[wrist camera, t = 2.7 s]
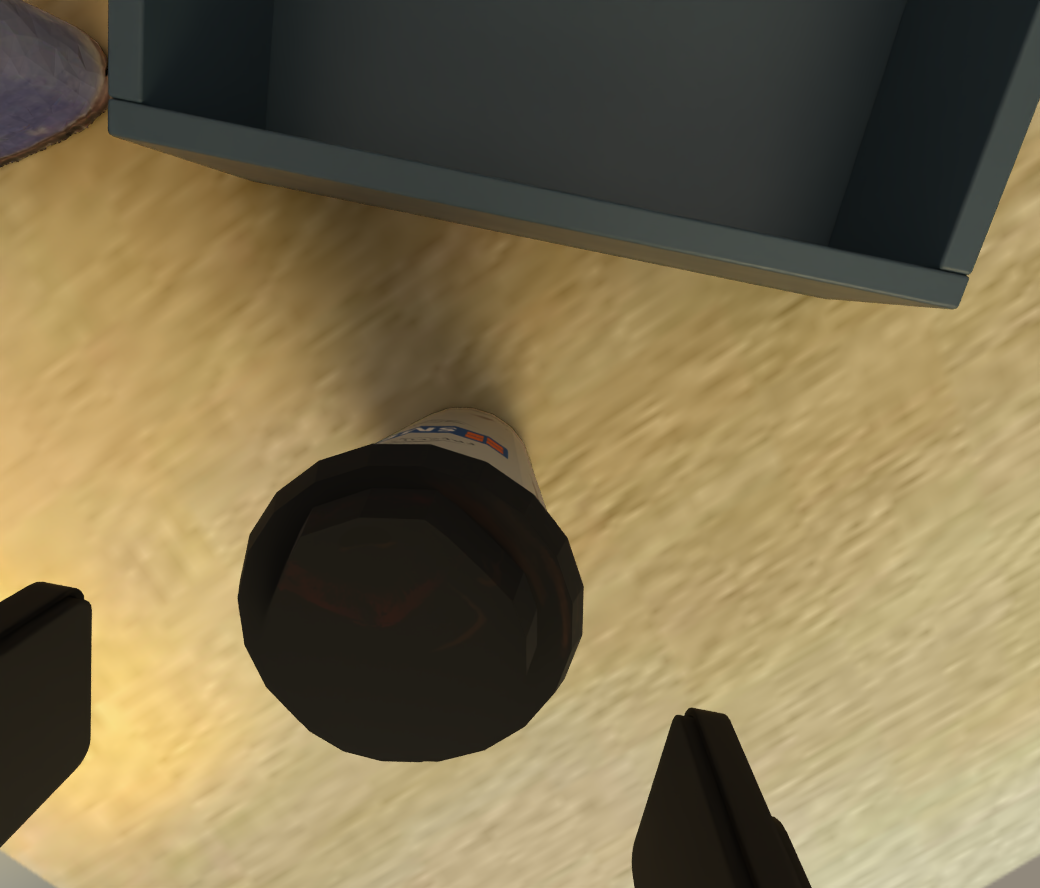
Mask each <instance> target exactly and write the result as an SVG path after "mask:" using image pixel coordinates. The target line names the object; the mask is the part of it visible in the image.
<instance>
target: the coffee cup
mask: <svg viewBox="0 0 1040 888" xmlns="http://www.w3.org/2000/svg"><path fill="white" fill-rule="evenodd" d="M583 591H584V586H583V583H582V580H581V577H580V574H579V571H578V568H577V565H576V562H575V559H574V556H573V553H572V550H571V547H570V544H569V541H568V538H567V537H566V535H565V534H564V533H563V531H562V530H561V529H560V527H559V526H558V525H557V524H556V522H555V521H554V520H553V518H552V517H551V516H550V514H549V513H548V512H547V509H546V506H545V504H544V501H543V498H542V495H541V492H540V489H539V486H538V483H537V480H536V477H535V474H534V471H533V468H532V465H531V463H530V460H529V457H528V454H527V451H526V448H525V445H524V443H523V442H522V441H521V439H520V438H519V437H518V435H517V434H516V433H515V431H514V430H513V429H512V427H511V426H509V425H508V424H506V423H505V422H503V421H502V420H501V419H499V418H498V417H496V416H495V415H493V414H490V413H487V412H484V411H481V410H478V409H475V408H449V409H446V410H443V411H439V412H436V413H433V414H430V415H428V416H426V417H425V418H423V419H421V420H419V421H417V422H415V423H413V424H411V425H409V426H408V427H406V428H404V429H402V430H400V431H398V432H396V433H394V434H392V435H391V436H389V437H387V438H385V439H383V440H381V441H379V442H377V443H375V444H370V445H367V446H364V447H361V448H357V449H354V450H351V451H348V452H345V453H342V454H339V455H335V456H332V457H329V458H326V459H323V460H320V461H318V462H317V463H315V464H314V465H313V466H311V467H310V468H309V469H307V470H306V471H305V472H303V473H302V474H301V475H299V476H298V477H297V478H295V479H294V480H293V481H291V482H290V483H289V484H287V485H286V486H285V487H283V488H282V489H281V490H279V491H278V492H277V493H276V494H275V496H274V497H273V499H272V501H271V502H270V504H269V505H268V507H267V508H266V510H265V511H264V513H263V515H262V516H261V518H260V519H259V521H258V522H257V524H256V525H255V527H254V529H253V530H252V532H251V533H250V536H249V540H248V545H247V550H246V555H245V559H244V564H243V569H242V574H241V578H240V584H239V592H238V604H239V611H240V618H241V625H242V631H243V638H244V645H245V647H246V649H247V651H248V653H249V655H250V657H251V659H252V660H253V662H254V664H255V666H256V668H257V670H258V672H259V674H260V676H261V678H262V680H263V682H264V684H265V686H266V687H267V688H268V690H269V691H270V692H271V693H272V694H273V695H274V696H275V697H276V698H277V699H278V700H279V701H280V702H281V703H282V704H283V705H284V706H285V707H286V708H287V709H288V710H289V711H290V712H291V713H292V714H293V715H294V716H295V717H296V718H297V720H298V721H299V722H301V723H302V724H303V725H304V726H305V727H306V728H307V729H308V730H309V731H310V732H312V733H313V734H315V735H317V736H318V737H320V738H322V739H323V740H325V741H327V742H329V743H330V744H332V745H334V746H335V747H337V748H339V749H340V750H342V751H344V752H348V753H352V754H356V755H360V756H364V757H367V758H371V759H375V760H379V761H397V762H423V761H434V762H439V761H443V760H447V759H451V758H455V757H459V756H463V755H467V754H471V753H475V752H479V751H483V750H486V749H487V748H489V747H491V746H493V745H494V744H496V743H498V742H499V741H501V740H503V739H505V738H506V737H508V736H510V735H511V734H513V733H515V732H517V731H518V730H520V729H522V728H523V727H525V726H526V725H527V724H528V722H529V721H530V720H531V719H532V718H533V717H534V716H535V714H536V713H537V712H538V711H539V710H540V709H541V708H542V707H543V705H544V704H545V703H546V702H547V701H548V700H549V699H550V698H551V696H552V695H553V694H554V693H555V692H556V690H557V689H558V687H559V686H560V684H561V683H562V682H563V680H564V679H565V676H566V674H567V671H568V669H569V667H570V664H571V662H572V659H573V657H574V654H575V652H576V649H577V647H578V644H579V642H580V639H581V637H582V627H583Z"/></svg>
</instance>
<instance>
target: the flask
mask: <svg viewBox="0 0 1040 888" xmlns="http://www.w3.org/2000/svg"><path fill="white" fill-rule="evenodd" d="M106 61H107V57H106V55H105V54H104V53H103V51H102V50H101V48H100V47H99V44H98V42H96V41H95V40H93V39H92V38H91V37H90V36H88V35H87V34H86V33H84V32H83V31H82V30H80V29H79V28H77V27H75V26H73V25H71V24H69V23H67V22H64V21H62V20H61V19H59V18H57V17H55V16H53V15H51V14H49V13H47V12H45V11H43V10H41V9H39V8H37V7H35V6H32V5H30V4H28V3H26V2H24V1H22V0H0V167H3V166H4V165H7V164H9V163H10V162H11V163H13V162H15V161H16V162H19V160H21V159H23V158H25V157H27V156H28V155H32V154H34V153H37V152H38V151H39V150H40V151H43V150H46V147H47V146H49V145H52V144H56V143H57V142H58V143H60V142H61V140H66V139H67V138H68V137H69V136H71V135H72V134H73V133H75V134H76V132H81V131H82V130H84V129H85V128H88V125H89V124H92V123H93V121H94V120H95V119H96V118H97V117H99V116H100V115H101V113H102V112H103V113H104V110H106V109H108V101H109V99H112V97H110V96H109V94H108V75H107V77H105V69H106ZM107 63H108V62H107Z"/></svg>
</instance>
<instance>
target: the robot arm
mask: <svg viewBox="0 0 1040 888" xmlns="http://www.w3.org/2000/svg"><path fill="white" fill-rule="evenodd" d="M91 635H92V608H91V604H90V603H89V602H88V601H86V600H84V595H83V593H82V592H81V590H79V589H77V588H72V587H67V586H62V585H56V584H51V583H46V582H36V583H33V584H31V585H29V586H27V587H25V588H24V589H22V590H20V591H18V592H17V593H15V594H13V595H12V596H10V597H8V598H6V599H5V600H3V601H1V602H0V847H1V846H2V845H3V844H4V843H5V842H6V841H7V840H8V839H9V838H10V837H11V836H12V835H13V834H14V833H15V832H16V831H17V830H18V829H19V828H20V827H21V826H22V825H23V823H24V822H25V821H26V820H27V819H28V818H29V817H30V816H31V815H32V814H33V813H34V812H35V811H36V810H37V809H38V808H39V807H40V806H41V805H42V804H43V803H44V802H45V801H46V800H47V799H48V798H49V796H50V795H51V794H52V793H53V792H54V791H55V790H56V789H57V788H58V787H59V786H60V785H61V784H62V783H63V782H64V781H65V780H66V779H67V778H68V777H69V776H70V775H71V774H72V773H73V772H74V771H75V770H76V768H77V767H78V766H79V765H80V764H81V762H82V761H83V759H84V757H85V755H86V753H87V751H88V748H89V745H90V736H91ZM632 873H633V880H634V886H635V888H812V887H811V885H810V883H809V881H808V878H807V876H806V874H805V872H804V869H803V867H802V865H801V863H800V861H799V858H798V856H797V854H796V852H795V849H794V847H793V845H792V843H791V840H790V838H789V836H788V834H787V832H786V830H785V828H784V827H783V825H782V823H781V822H780V821H779V820H778V819H776V818H775V817H772V816H771V814H770V812H769V809H768V807H767V805H766V802H765V800H764V798H763V795H762V793H761V791H760V788H759V786H758V784H757V781H756V779H755V777H754V775H753V772H752V770H751V768H750V765H749V763H748V761H747V758H746V756H745V754H744V751H743V749H742V747H741V744H740V742H739V740H738V737H737V735H736V733H735V731H734V728H733V726H732V724H731V721H730V719H729V718H728V716H727V715H725V714H722V713H717V712H712V711H706V710H701V709H696V708H689V709H688V710H687V711H686V713H685V715H684V716H681V715H676V716H675V717H674V719H673V721H672V724H671V727H670V730H669V733H668V736H667V740H666V743H665V746H664V749H663V752H662V756H661V759H660V762H659V765H658V768H657V772H656V775H655V778H654V781H653V784H652V788H651V791H650V794H649V797H648V800H647V803H646V807H645V810H644V813H643V816H642V819H641V823H640V826H639V829H638V832H637V835H636V839H635V842H634V846H633V852H632Z"/></svg>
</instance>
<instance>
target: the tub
mask: <svg viewBox="0 0 1040 888" xmlns="http://www.w3.org/2000/svg"><path fill="white" fill-rule="evenodd" d="M108 94H109V96H110V97H112V99H109V101H108V132H109V134H110V135H112V136H114V137H117V138H120V139H123V140H126V141H129V142H133V143H136V144H139V145H142V146H145V147H148V148H151V149H154V150H157V151H160V152H163V153H167V154H170V155H173V156H176V157H179V158H182V159H185V160H188V161H191V162H194V163H197V164H201V165H204V166H207V167H210V168H213V169H216V170H219V171H222V172H225V173H228V174H232V175H235V176H238V177H241V178H244V179H247V180H250V181H255V182H260V183H265V184H269V185H274V186H279V187H284V188H289V189H294V190H299V191H303V192H308V193H313V194H318V195H323V196H328V197H333V198H337V199H342V200H347V201H352V202H357V203H362V204H367V205H371V206H376V207H381V208H386V209H391V210H396V211H401V212H405V213H410V214H415V215H420V216H425V217H430V218H435V219H439V220H444V221H449V222H454V223H459V224H464V225H469V226H473V227H478V228H483V229H488V230H493V231H498V232H503V233H507V234H512V235H517V236H522V237H527V238H532V239H537V240H542V241H546V242H551V243H556V244H561V245H566V246H571V247H576V248H580V249H585V250H590V251H595V252H600V253H605V254H610V255H614V256H619V257H624V258H629V259H634V260H639V261H644V262H648V263H653V264H658V265H663V266H668V267H673V268H678V269H682V270H687V271H692V272H697V273H702V274H707V275H712V276H716V277H721V278H726V279H731V280H736V281H741V282H746V283H750V284H755V285H760V286H765V287H770V288H775V289H780V290H784V291H789V292H794V293H799V294H804V295H809V296H814V297H818V298H823V299H835V300H847V301H859V302H871V303H883V304H895V305H906V306H918V307H930V308H942V309H956V308H957V307H958V306H959V303H960V301H961V298H962V296H963V293H964V291H965V288H966V286H967V283H968V280H969V277H967V276H966V275H969V274H970V273H971V272H972V270H973V268H974V265H975V263H976V260H977V257H978V255H979V252H980V250H981V247H982V245H983V242H984V240H985V237H986V234H987V232H988V229H989V227H990V224H991V222H992V219H993V217H994V214H995V212H996V209H997V206H998V204H999V201H1000V199H1001V196H1002V194H1003V191H1004V189H1005V186H1006V183H1007V181H1008V178H1009V176H1010V173H1011V171H1012V168H1013V166H1014V163H1015V160H1016V158H1017V155H1018V153H1019V150H1020V148H1021V145H1022V143H1023V140H1024V137H1025V135H1026V132H1027V130H1028V127H1029V125H1030V122H1031V120H1032V117H1033V114H1034V112H1035V109H1036V107H1037V104H1038V102H1039V99H1040V0H108Z"/></svg>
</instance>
